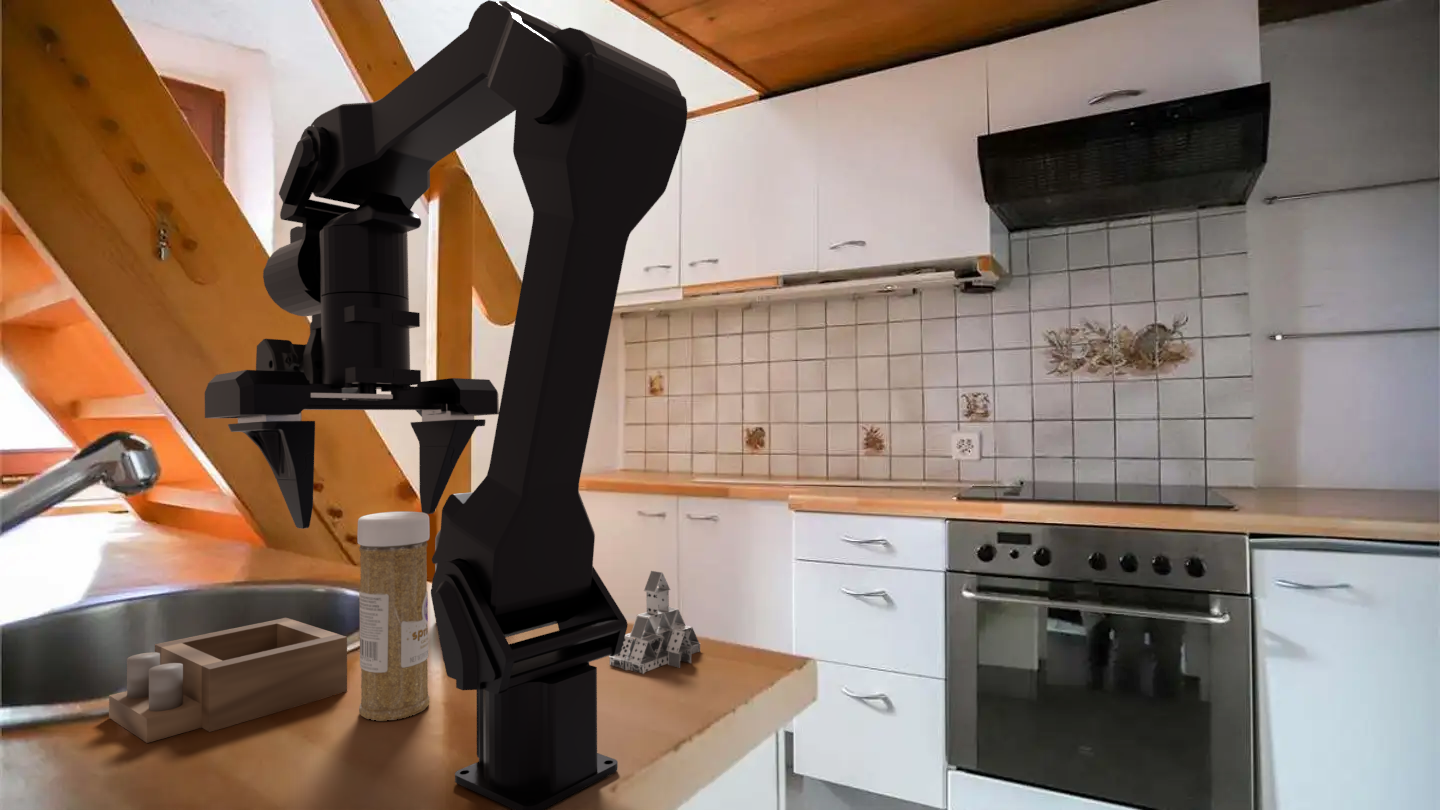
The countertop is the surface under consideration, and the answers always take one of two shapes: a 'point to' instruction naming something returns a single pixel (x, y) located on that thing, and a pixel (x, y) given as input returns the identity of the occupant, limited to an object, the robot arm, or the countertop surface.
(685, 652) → the house of cards
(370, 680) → the sprinkles bottle
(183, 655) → the slot block
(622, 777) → the countertop surface
